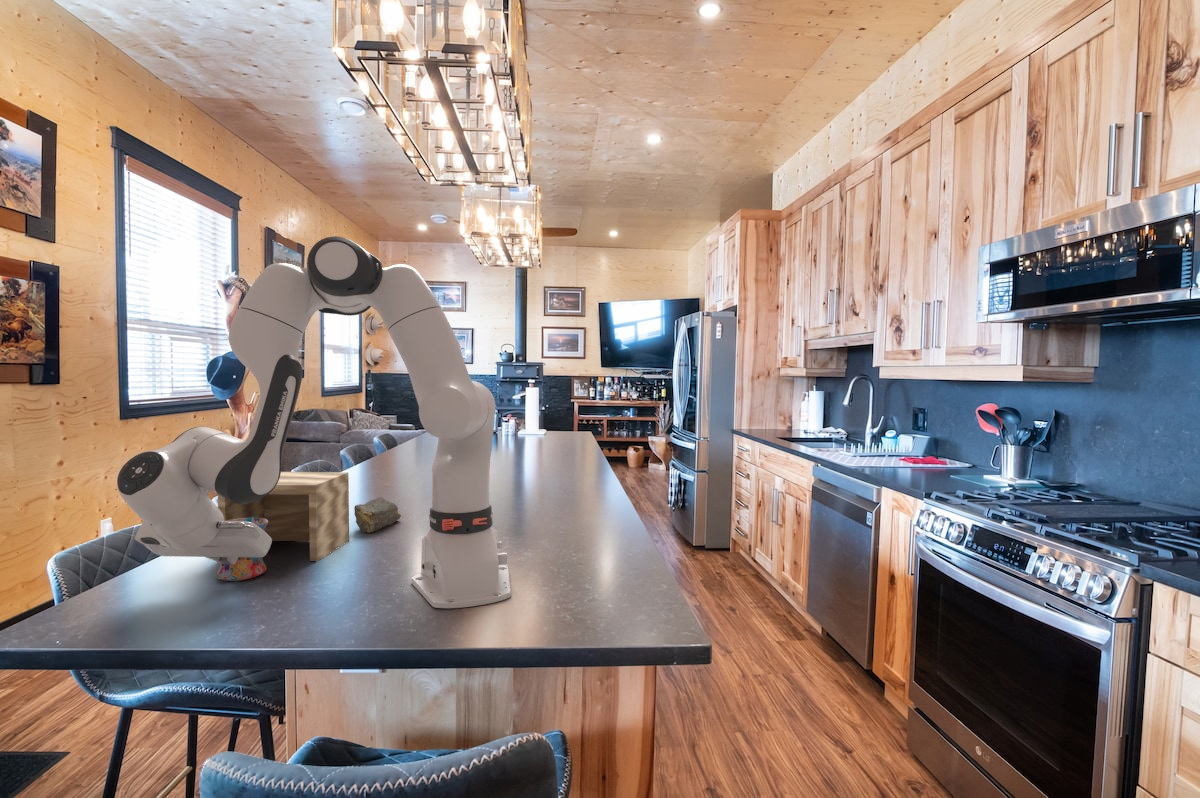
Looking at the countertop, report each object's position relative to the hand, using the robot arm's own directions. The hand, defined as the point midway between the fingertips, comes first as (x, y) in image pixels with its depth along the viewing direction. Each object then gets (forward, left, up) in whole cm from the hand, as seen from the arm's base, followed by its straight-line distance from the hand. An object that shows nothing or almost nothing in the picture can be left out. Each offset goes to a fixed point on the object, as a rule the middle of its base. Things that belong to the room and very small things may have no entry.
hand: (229, 560), depth 111 cm
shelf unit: (+18, -8, -4) cm, 20 cm away
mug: (+5, -2, -4) cm, 7 cm away
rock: (+33, -28, -5) cm, 44 cm away
